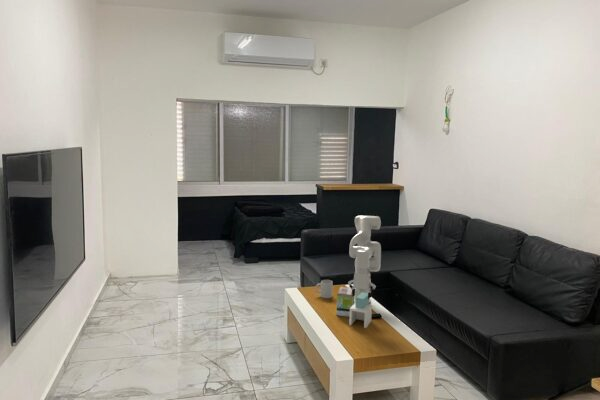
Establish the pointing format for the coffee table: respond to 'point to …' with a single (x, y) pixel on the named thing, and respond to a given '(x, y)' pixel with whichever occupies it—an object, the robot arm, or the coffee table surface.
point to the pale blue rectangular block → (362, 300)
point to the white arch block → (360, 314)
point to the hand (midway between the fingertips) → (361, 297)
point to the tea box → (344, 301)
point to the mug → (325, 288)
